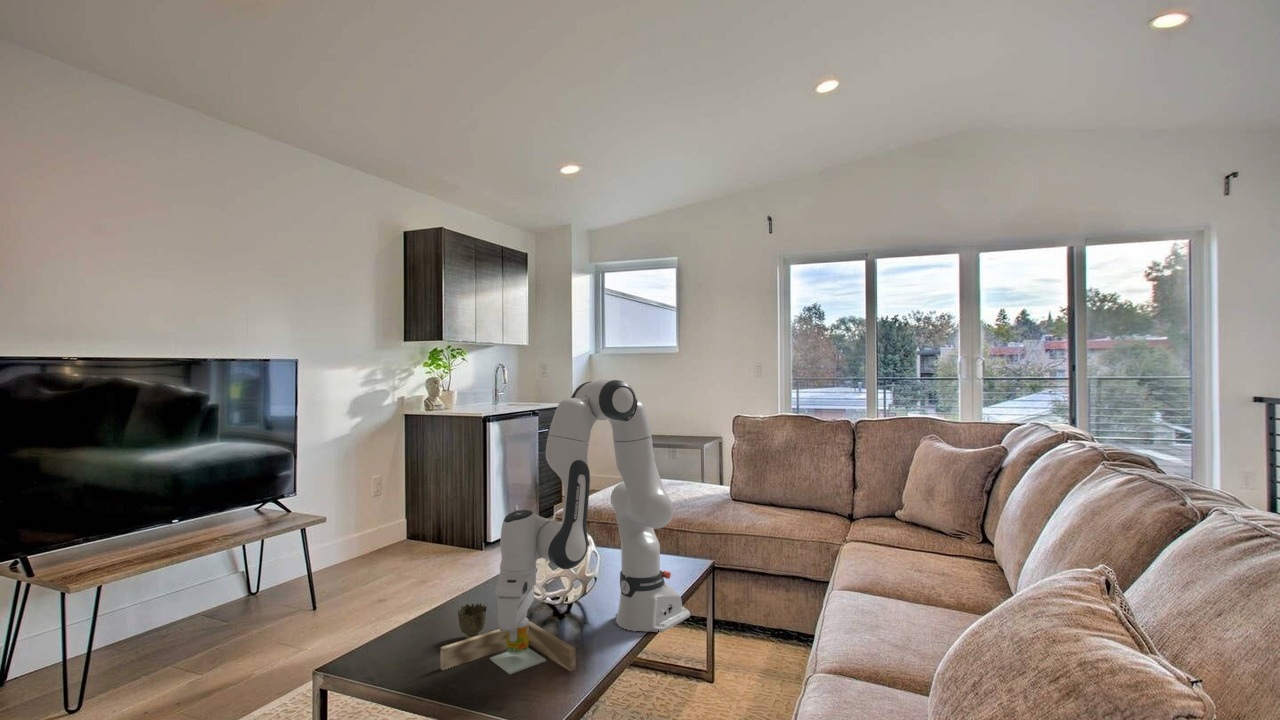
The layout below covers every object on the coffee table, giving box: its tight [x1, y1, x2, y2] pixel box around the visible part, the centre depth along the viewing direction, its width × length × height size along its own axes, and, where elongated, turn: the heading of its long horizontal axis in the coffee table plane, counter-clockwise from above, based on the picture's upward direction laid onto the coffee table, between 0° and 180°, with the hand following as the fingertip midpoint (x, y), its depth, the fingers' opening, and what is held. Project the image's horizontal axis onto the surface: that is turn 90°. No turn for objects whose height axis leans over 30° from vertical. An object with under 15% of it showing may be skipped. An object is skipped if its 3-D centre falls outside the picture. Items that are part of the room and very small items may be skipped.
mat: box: [489, 647, 547, 675], centre depth 145 cm, size 10×10×1 cm
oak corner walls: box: [439, 620, 576, 672], centre depth 141 cm, size 24×22×5 cm
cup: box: [457, 603, 487, 639], centre depth 158 cm, size 8×7×8 cm
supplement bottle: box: [505, 610, 530, 654], centre depth 145 cm, size 5×5×10 cm
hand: (517, 634), depth 145 cm, fingers closed on supplement bottle, 5 cm apart
